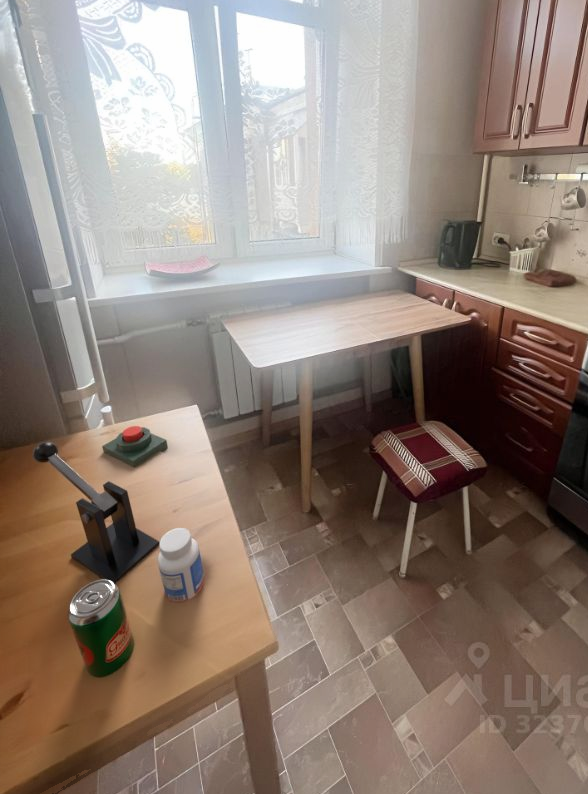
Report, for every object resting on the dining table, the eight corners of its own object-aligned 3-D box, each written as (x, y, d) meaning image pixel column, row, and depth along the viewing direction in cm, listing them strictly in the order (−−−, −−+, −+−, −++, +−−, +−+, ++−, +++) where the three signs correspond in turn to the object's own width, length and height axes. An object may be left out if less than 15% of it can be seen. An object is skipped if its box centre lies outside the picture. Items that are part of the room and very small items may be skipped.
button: (120, 439, 84) (118, 432, 83) (135, 430, 87) (134, 424, 86) (131, 444, 82) (129, 437, 82) (146, 435, 85) (145, 428, 85)
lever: (28, 458, 62) (27, 445, 61) (50, 447, 65) (49, 434, 64) (99, 524, 58) (100, 512, 57) (120, 510, 61) (121, 497, 59)
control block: (103, 454, 85) (100, 439, 83) (137, 434, 91) (134, 420, 90) (135, 469, 81) (131, 453, 79) (168, 447, 87) (165, 432, 86)
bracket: (72, 560, 62) (53, 502, 57) (120, 523, 68) (106, 469, 64) (113, 588, 58) (96, 528, 53) (160, 546, 64) (148, 490, 60)
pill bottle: (195, 563, 62) (187, 516, 58) (211, 587, 58) (203, 539, 55) (159, 586, 58) (148, 537, 55) (173, 613, 55) (162, 563, 51)
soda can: (122, 687, 47) (100, 621, 42) (79, 685, 47) (54, 619, 42) (144, 640, 51) (127, 576, 47) (105, 639, 51) (85, 575, 47)
